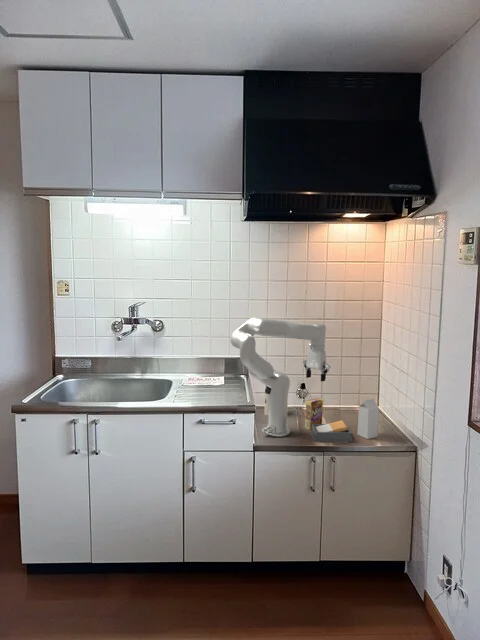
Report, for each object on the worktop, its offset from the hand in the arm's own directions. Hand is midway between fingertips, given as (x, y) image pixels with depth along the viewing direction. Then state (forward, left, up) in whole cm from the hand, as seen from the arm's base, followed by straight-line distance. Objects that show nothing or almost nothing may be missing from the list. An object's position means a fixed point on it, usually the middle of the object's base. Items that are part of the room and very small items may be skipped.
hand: (315, 379), depth 255 cm
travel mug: (-3, +29, -26) cm, 39 cm away
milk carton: (+11, -26, -26) cm, 39 cm away
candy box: (-1, -1, -26) cm, 26 cm away
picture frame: (-5, -15, -22) cm, 27 cm away
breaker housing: (-5, -15, -26) cm, 30 cm away
